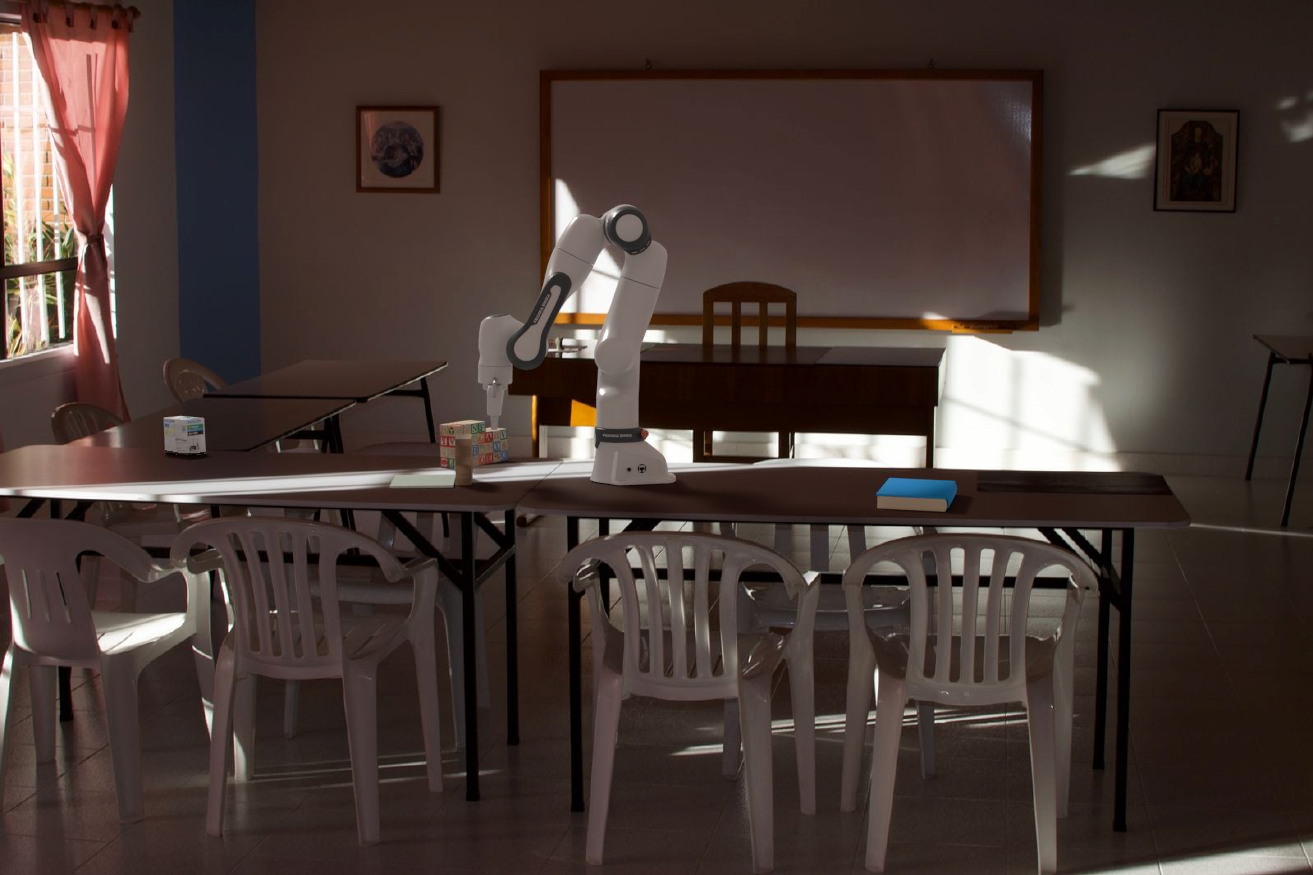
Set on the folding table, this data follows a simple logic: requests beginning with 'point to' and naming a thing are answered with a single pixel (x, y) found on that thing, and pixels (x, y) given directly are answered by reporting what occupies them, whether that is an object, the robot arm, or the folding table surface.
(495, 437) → the stack of blocks
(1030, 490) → the folding table surface
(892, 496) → the book
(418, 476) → the mat
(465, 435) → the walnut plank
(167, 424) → the light bulb box
